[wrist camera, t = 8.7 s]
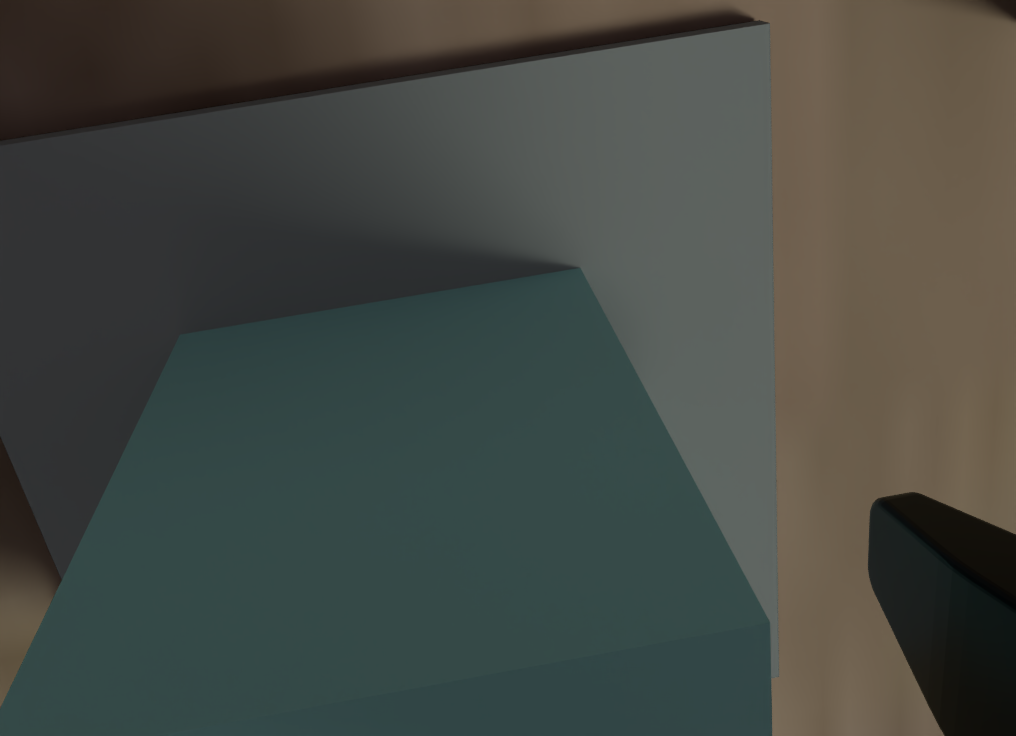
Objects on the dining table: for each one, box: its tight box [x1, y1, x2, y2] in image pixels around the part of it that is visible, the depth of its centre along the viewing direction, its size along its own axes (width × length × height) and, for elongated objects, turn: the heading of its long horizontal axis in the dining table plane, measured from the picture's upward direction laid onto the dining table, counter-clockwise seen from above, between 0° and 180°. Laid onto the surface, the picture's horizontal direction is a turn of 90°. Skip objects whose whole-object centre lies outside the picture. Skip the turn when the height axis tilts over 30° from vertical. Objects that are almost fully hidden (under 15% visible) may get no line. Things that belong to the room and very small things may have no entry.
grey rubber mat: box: [0, 20, 779, 678], centre depth 12 cm, size 9×9×1 cm
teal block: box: [0, 268, 772, 736], centre depth 9 cm, size 4×4×6 cm
